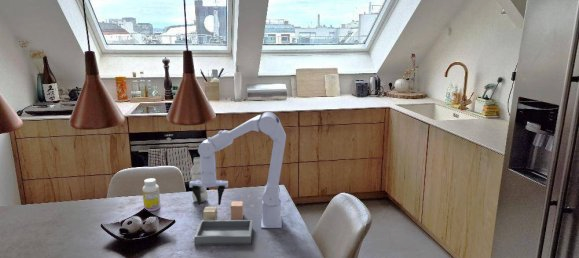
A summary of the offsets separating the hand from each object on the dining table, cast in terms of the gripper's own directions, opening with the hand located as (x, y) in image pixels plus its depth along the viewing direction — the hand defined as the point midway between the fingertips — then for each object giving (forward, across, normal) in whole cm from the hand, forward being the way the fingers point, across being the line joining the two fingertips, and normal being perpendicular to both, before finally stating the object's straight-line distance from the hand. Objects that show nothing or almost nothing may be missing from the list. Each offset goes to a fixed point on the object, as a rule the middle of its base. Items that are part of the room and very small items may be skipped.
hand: (209, 204), depth 158 cm
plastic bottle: (+8, -8, +21) cm, 24 cm away
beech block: (+8, 0, 0) cm, 8 cm away
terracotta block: (+8, +10, +5) cm, 14 cm away
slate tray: (+8, +7, -11) cm, 15 cm away
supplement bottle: (+8, -27, +14) cm, 31 cm away
